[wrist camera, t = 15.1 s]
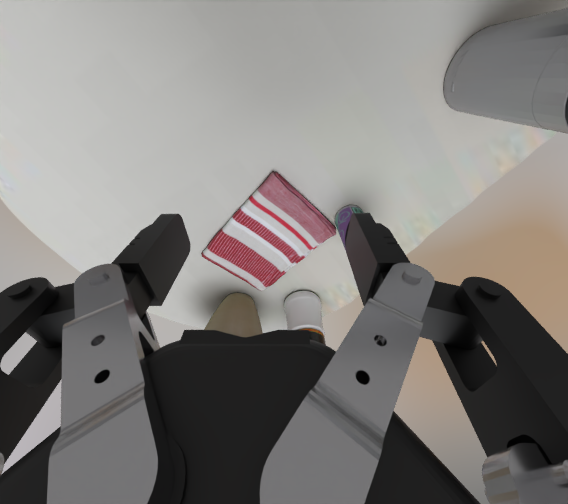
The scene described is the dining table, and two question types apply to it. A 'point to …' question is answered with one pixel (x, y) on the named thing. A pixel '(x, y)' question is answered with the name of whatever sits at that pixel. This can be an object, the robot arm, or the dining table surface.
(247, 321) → the plant pot
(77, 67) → the dining table surface
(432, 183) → the dining table surface
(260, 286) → the dish towel
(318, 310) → the vodka
